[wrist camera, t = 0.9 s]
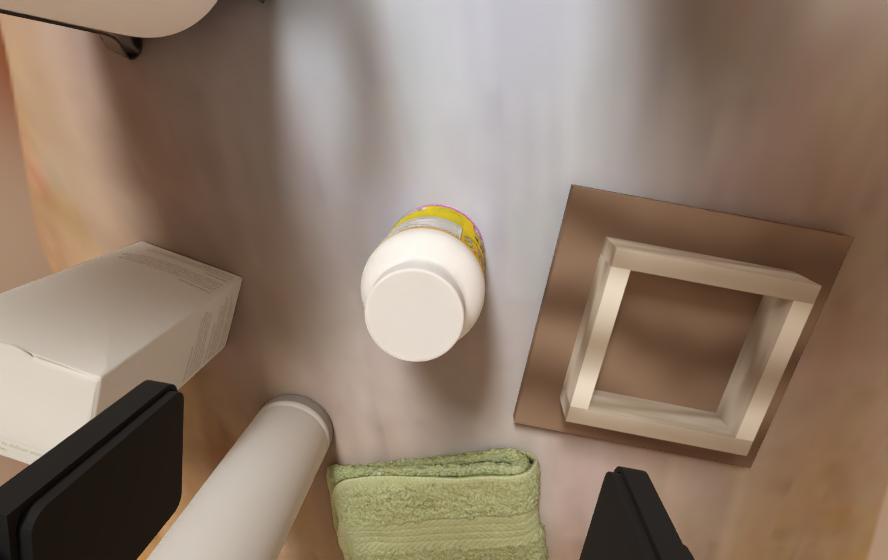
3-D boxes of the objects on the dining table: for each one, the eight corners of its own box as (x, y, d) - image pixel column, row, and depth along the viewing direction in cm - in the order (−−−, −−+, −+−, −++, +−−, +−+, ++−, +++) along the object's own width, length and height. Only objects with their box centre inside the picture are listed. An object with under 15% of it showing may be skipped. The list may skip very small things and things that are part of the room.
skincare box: (127, 310, 39) (-92, 431, 24) (141, 232, 37) (-89, 312, 22) (230, 349, 39) (77, 491, 24) (250, 274, 37) (95, 380, 22)
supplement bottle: (472, 302, 36) (466, 396, 24) (383, 281, 36) (332, 365, 24) (495, 213, 34) (501, 267, 22) (400, 191, 34) (354, 233, 22)
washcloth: (323, 455, 42) (311, 482, 39) (536, 437, 40) (540, 463, 37) (355, 575, 46) (346, 608, 43) (551, 564, 44) (556, 598, 41)
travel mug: (241, 407, 41) (30, 662, 22) (312, 382, 40) (154, 629, 21) (277, 468, 42) (110, 754, 23) (346, 446, 41) (229, 729, 22)
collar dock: (571, 184, 33) (582, 193, 30) (843, 234, 33) (889, 249, 29) (513, 415, 39) (516, 447, 35) (744, 459, 39) (772, 496, 35)
